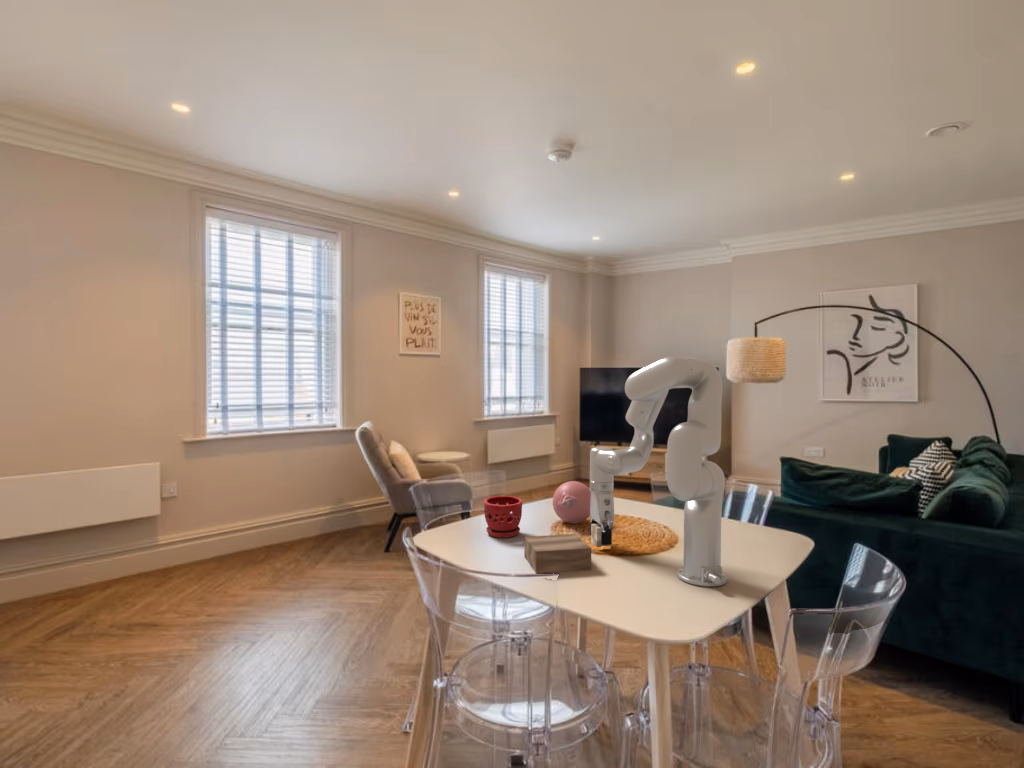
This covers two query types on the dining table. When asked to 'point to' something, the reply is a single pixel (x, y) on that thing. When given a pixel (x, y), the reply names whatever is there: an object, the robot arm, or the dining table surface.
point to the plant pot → (503, 515)
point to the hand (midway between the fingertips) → (600, 539)
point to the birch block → (596, 535)
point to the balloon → (572, 502)
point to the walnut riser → (557, 553)
